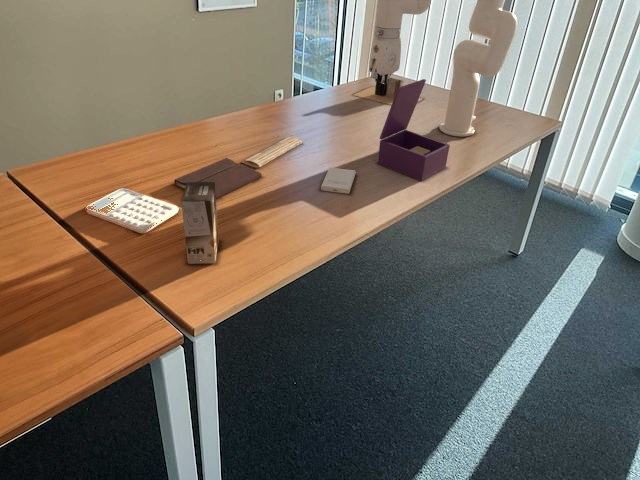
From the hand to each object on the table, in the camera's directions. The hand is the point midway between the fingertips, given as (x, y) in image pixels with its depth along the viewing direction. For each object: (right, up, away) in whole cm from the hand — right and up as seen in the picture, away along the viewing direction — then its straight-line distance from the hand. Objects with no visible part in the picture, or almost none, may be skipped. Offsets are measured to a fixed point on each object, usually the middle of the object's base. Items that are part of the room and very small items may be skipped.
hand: (380, 94), depth 165 cm
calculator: (-67, -38, -29) cm, 82 cm away
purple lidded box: (+10, -22, +2) cm, 24 cm away
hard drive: (-13, -29, -9) cm, 33 cm away
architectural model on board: (+10, +15, +59) cm, 62 cm away
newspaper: (-34, -17, +6) cm, 39 cm away
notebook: (-48, -28, -12) cm, 57 cm away
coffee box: (-46, -48, -42) cm, 79 cm away
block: (+12, -22, +1) cm, 25 cm away
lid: (+7, -6, -3) cm, 9 cm away
